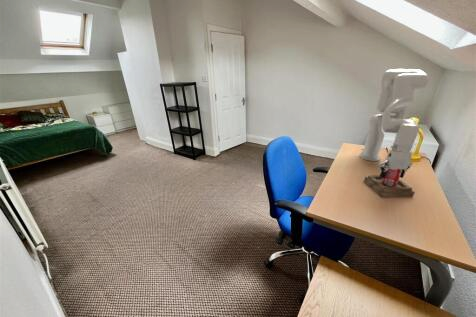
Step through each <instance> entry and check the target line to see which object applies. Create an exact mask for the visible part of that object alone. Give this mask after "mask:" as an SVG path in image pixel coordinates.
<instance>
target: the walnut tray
mask: <svg viewBox="0 0 476 317" xmlns="http://www.w3.org/2000/svg"><path fill="white" fill-rule="evenodd" d="M363 182H364V183H365V184H366V185H367V186H369V188H370V189H372V190H374V192H375V193H376V194H377V195H379V196H380V197H381V198H382V199H383V198H384V199H389V198H392V199H393V198H411V197H414V195H415V191H414V190H413V188H412V187H411V186H410V185H408V184H406V183H405V182H404V181H402V180H401V179H399V180H398V183H397V185H396V186H387V185H385V184H384V183H383V182H382V177H381V176H380V174H377V175H368V176H365V177H364V180H363Z"/></svg>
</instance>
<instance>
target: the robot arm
mask: <svg viewBox="0 0 476 317" xmlns="http://www.w3.org/2000/svg"><path fill="white" fill-rule="evenodd" d="M429 78H430V77H429V75H428V74H427V73H426V72H424V71H423V70H421V69H418V68H417V69H416V68H415V69H413V68H408V69H405V68H396V69H393V68H392V69H388V70H385V71H384V72H383V74H382V76H381V82H380V84H381V92H380V95H379V99H378V102H377V105H376V110H377V112H379V113H381V114H379V113H378V114H374V115H372V116H371V118H370V120H369V121H370V122H369V129H368V134H367V137H366V141H365V145H364V147H363V148H362V149H361V151H362V152H361V153H359V157H360V158H361V159H363V160H365V161H369V162H378V161H380V160H381V157H380V156H379V154H380V151H381V148H382V145H383V142H384V138H385V133H389V134H396V136H395V137H394V138H395V139H394V140H393V143H392V144H393V145H390V149H389V151H388V153H387V155H386V157H385V159H384V160H383V161H381V162H379V163H378V168H379V169H380V174H379V175H380V176H381V177H382V178H383V179H385V177H386V174H387V172H386V171H387V170H389V169H390V170H396V169H402V173H401V175H400V178H401V179H403V178H404V176H405V174H406V172H407V171H408V170H409V169H410V168H411V167H412V166H413V164H414V162H412V161H411V160H412V155H413V154H412V148H413V146H414V144H415V140H416V138H417V136H418V133H419V131H420V125H419V124H417V122H416V121H415V120H414V119H409V118H408V119H407V118H405V116H406V114H407V111H408V108H409V105H410V104H412V103H413V101H414V98H415V97H414V96H415V95H414V91H422V90H425V89H426V88H427V86H428V85H429V83H430V81H429V80H430V79H429ZM384 132H385V133H384ZM386 167H387V168H386ZM385 168H386V169H385Z"/></svg>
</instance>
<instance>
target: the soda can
mask: <svg viewBox="0 0 476 317" xmlns="http://www.w3.org/2000/svg"><path fill="white" fill-rule="evenodd" d="M386 168H387V167H386ZM386 168H384V169H386ZM386 172H387V174H386V177H385V179H383V178H382V182H383V183H384V184H385V185H387V186H396V185H397V183H398V180H400V178H401V177H400V175H401V173H402V169H396V170H390V169H389V170H387V171H386Z"/></svg>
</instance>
